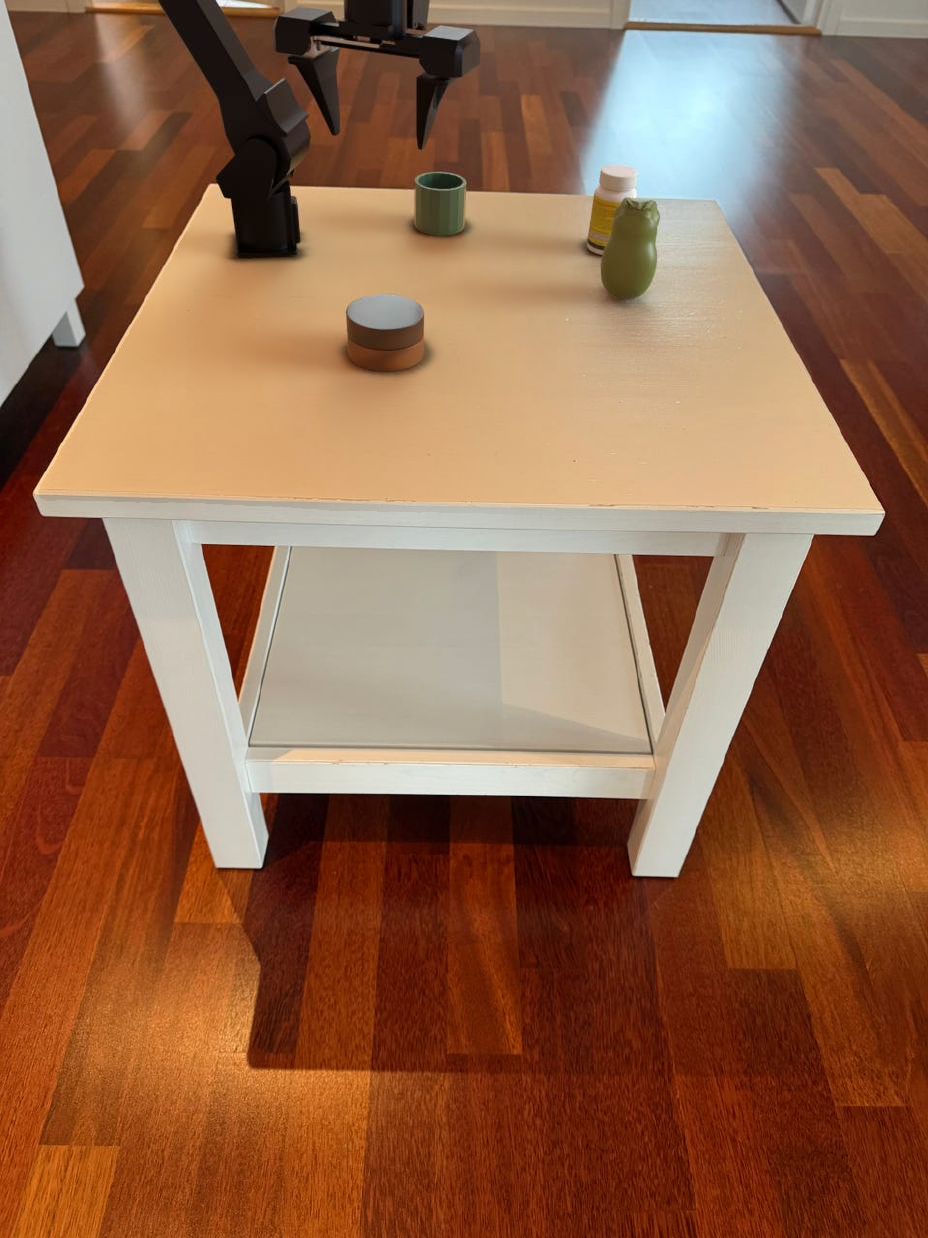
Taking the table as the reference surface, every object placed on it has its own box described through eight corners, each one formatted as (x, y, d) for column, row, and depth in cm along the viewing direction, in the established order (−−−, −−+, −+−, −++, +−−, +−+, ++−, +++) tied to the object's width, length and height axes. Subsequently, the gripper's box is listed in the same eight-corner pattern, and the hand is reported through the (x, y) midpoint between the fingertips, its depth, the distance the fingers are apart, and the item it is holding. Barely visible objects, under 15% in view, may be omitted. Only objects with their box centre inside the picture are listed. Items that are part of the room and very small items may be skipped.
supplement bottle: (620, 260, 102) (633, 181, 96) (580, 251, 103) (591, 172, 97) (633, 245, 105) (646, 167, 99) (594, 236, 106) (605, 159, 101)
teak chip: (352, 373, 82) (351, 353, 81) (344, 336, 87) (343, 316, 86) (429, 369, 83) (429, 348, 82) (417, 332, 88) (417, 312, 87)
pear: (593, 303, 94) (608, 203, 87) (599, 282, 98) (613, 184, 91) (648, 311, 93) (667, 210, 86) (651, 289, 97) (670, 190, 90)
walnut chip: (351, 352, 81) (350, 331, 79) (343, 315, 86) (342, 295, 84) (429, 348, 82) (429, 327, 80) (417, 312, 87) (417, 292, 85)
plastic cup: (418, 236, 104) (419, 190, 101) (411, 216, 108) (411, 172, 105) (468, 234, 105) (470, 189, 102) (459, 215, 109) (460, 170, 106)
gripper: (503, -54, 84) (492, 132, 94) (317, -75, 87) (327, 106, 98) (463, -34, 76) (456, 165, 87) (261, -58, 80) (279, 136, 91)
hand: (378, 141), depth 91 cm, fingers open, 9 cm apart
